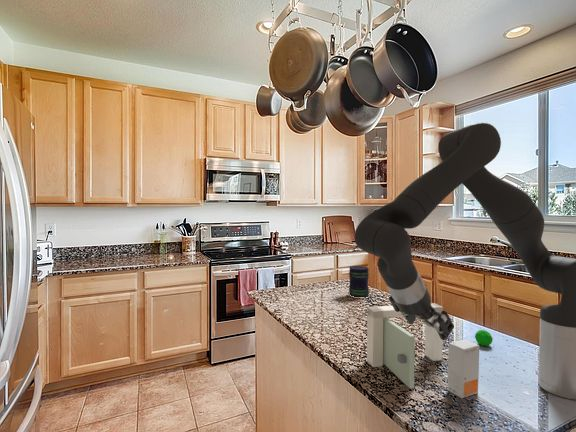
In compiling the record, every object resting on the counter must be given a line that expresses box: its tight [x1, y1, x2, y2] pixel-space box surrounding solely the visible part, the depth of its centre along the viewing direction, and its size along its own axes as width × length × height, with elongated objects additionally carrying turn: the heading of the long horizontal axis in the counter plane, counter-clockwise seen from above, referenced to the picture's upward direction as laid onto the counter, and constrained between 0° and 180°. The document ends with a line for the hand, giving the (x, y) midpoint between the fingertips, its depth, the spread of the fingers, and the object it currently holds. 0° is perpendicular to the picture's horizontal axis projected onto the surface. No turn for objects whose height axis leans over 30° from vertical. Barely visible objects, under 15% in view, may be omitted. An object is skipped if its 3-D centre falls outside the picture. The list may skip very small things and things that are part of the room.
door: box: [383, 317, 416, 389], centre depth 89 cm, size 16×3×13 cm, turn 12°
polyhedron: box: [474, 329, 494, 347], centre depth 109 cm, size 5×5×5 cm
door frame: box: [366, 302, 444, 368], centre depth 97 cm, size 22×4×16 cm, turn 102°
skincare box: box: [447, 339, 480, 399], centre depth 81 cm, size 6×4×12 cm
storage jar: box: [348, 265, 370, 298], centre depth 168 cm, size 10×10×15 cm
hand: (428, 328), depth 80 cm, fingers open, 8 cm apart
